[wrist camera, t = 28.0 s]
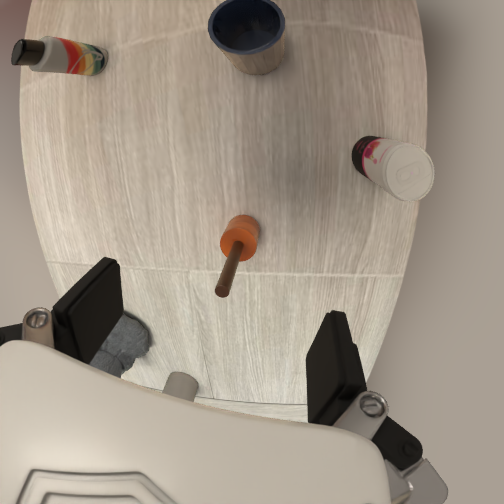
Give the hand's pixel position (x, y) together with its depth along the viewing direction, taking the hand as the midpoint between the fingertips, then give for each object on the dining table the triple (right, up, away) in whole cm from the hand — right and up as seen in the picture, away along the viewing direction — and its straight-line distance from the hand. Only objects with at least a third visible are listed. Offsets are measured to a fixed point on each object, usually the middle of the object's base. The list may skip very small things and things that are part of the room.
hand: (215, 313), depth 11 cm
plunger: (0, +6, +34) cm, 35 cm away
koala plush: (-30, -17, +49) cm, 61 cm away
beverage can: (+20, +18, +27) cm, 38 cm away
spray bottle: (-26, +37, +22) cm, 51 cm away
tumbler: (+2, +32, +21) cm, 39 cm away
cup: (-17, -32, +55) cm, 67 cm away
